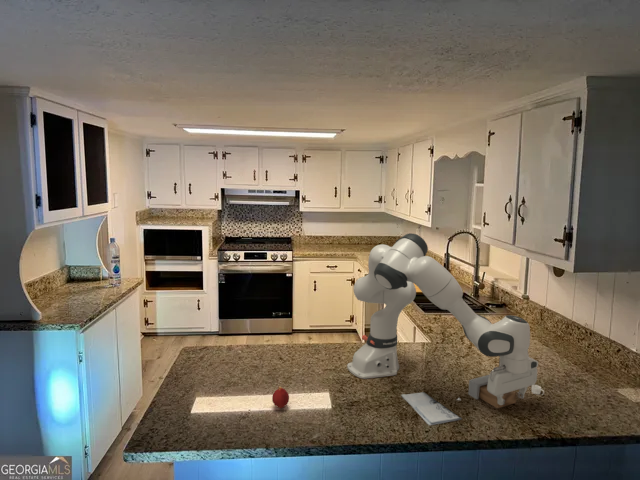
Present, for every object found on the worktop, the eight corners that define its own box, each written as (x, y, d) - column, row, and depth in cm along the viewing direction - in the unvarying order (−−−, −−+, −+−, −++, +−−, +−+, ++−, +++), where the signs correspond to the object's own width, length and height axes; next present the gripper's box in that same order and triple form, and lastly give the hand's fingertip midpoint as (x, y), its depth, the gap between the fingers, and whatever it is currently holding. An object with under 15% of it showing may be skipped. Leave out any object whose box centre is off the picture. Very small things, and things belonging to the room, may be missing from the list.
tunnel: (476, 400, 148) (477, 384, 147) (468, 395, 151) (469, 379, 150) (501, 393, 153) (502, 377, 152) (493, 388, 156) (494, 373, 156)
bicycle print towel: (429, 427, 134) (429, 421, 133) (400, 397, 153) (400, 391, 153) (479, 418, 139) (479, 412, 139) (445, 390, 158) (445, 384, 158)
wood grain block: (497, 408, 141) (498, 397, 141) (471, 392, 152) (471, 382, 152) (515, 402, 145) (516, 392, 145) (488, 387, 156) (489, 377, 156)
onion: (280, 401, 148) (280, 380, 147) (292, 407, 144) (292, 385, 143) (269, 408, 144) (268, 387, 143) (280, 414, 140) (280, 392, 139)
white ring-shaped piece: (516, 392, 156) (517, 382, 155) (532, 389, 159) (533, 379, 158) (536, 404, 148) (537, 393, 147) (552, 400, 150) (553, 390, 150)
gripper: (499, 372, 133) (496, 412, 135) (542, 361, 141) (538, 398, 143) (483, 364, 138) (481, 403, 140) (525, 354, 147) (523, 390, 149)
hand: (510, 401), depth 142 cm, fingers open, 8 cm apart
